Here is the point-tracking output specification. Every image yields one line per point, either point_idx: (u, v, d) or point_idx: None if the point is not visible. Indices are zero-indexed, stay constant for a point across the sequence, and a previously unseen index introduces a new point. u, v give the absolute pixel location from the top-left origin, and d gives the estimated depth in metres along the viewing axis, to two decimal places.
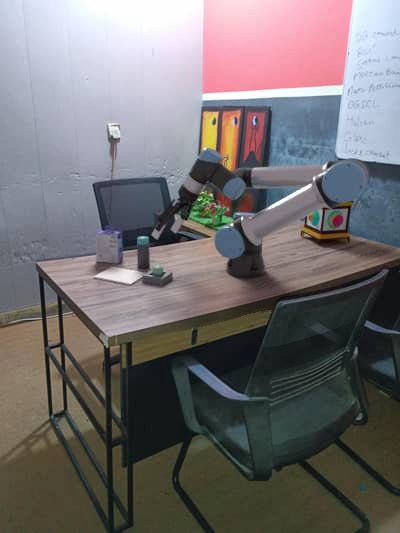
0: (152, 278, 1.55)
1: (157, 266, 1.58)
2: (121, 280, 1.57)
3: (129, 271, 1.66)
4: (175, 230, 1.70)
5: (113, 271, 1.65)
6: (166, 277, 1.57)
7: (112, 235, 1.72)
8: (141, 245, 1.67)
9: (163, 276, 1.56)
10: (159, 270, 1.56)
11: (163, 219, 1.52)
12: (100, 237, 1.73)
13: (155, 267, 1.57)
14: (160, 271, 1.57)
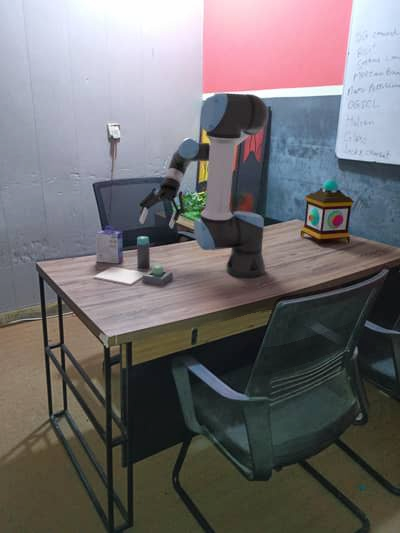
0: (152, 278, 1.55)
1: (157, 266, 1.58)
2: (121, 280, 1.57)
3: (129, 271, 1.66)
4: None
5: (113, 271, 1.65)
6: (166, 277, 1.57)
7: (112, 235, 1.72)
8: (141, 245, 1.67)
9: (163, 276, 1.56)
10: (159, 270, 1.56)
11: None
12: (100, 237, 1.73)
13: (155, 267, 1.57)
14: (160, 271, 1.57)
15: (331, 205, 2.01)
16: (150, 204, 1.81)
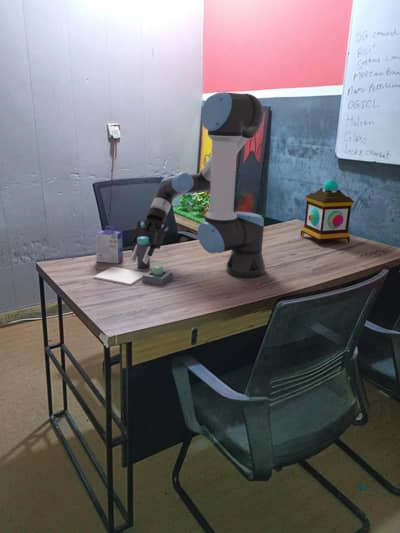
0: (152, 278, 1.55)
1: (157, 266, 1.58)
2: (121, 280, 1.57)
3: (129, 271, 1.66)
4: None
5: (113, 271, 1.65)
6: (166, 277, 1.57)
7: (112, 235, 1.72)
8: (141, 245, 1.67)
9: (163, 276, 1.56)
10: (159, 270, 1.56)
11: None
12: (100, 237, 1.73)
13: (155, 267, 1.57)
14: (160, 271, 1.57)
15: (331, 205, 2.01)
16: None
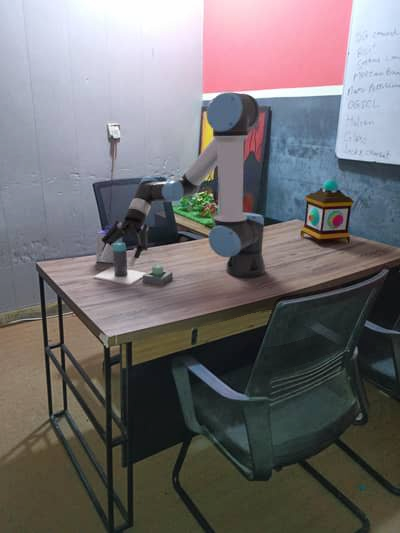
0: (152, 278, 1.55)
1: (157, 266, 1.58)
2: (121, 280, 1.57)
3: (129, 271, 1.66)
4: None
5: (113, 271, 1.65)
6: (166, 277, 1.57)
7: None
8: (117, 252, 1.57)
9: (163, 276, 1.56)
10: (159, 270, 1.56)
11: None
12: (100, 237, 1.73)
13: (155, 267, 1.57)
14: (160, 271, 1.57)
15: (331, 205, 2.01)
16: (113, 239, 1.63)
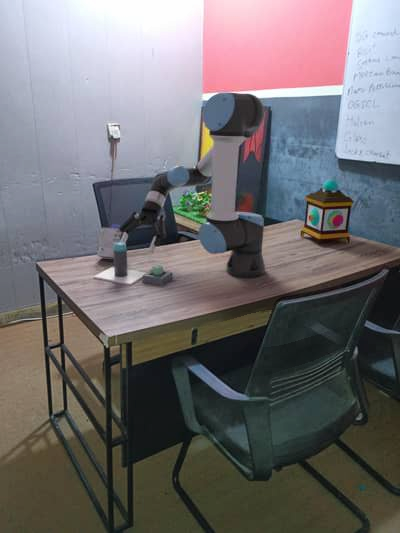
0: (152, 278, 1.55)
1: (157, 266, 1.58)
2: (121, 280, 1.57)
3: (129, 271, 1.66)
4: None
5: (113, 271, 1.65)
6: (166, 277, 1.57)
7: (118, 229, 1.77)
8: (118, 252, 1.57)
9: (163, 276, 1.56)
10: (159, 270, 1.56)
11: None
12: (105, 231, 1.78)
13: (155, 267, 1.57)
14: (160, 271, 1.57)
15: (331, 205, 2.00)
16: (130, 228, 1.73)
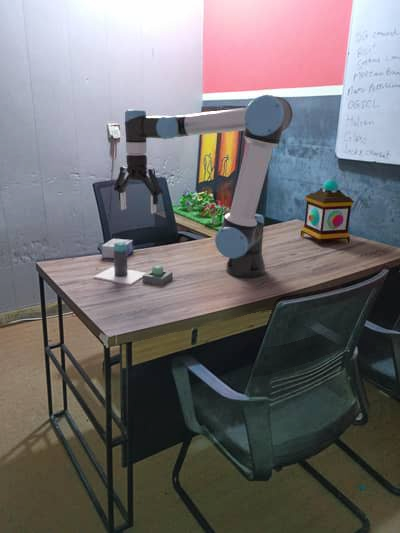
0: (152, 278, 1.55)
1: (157, 266, 1.58)
2: (121, 280, 1.57)
3: (129, 271, 1.66)
4: None
5: (113, 271, 1.65)
6: (166, 277, 1.57)
7: (128, 240, 1.89)
8: (118, 252, 1.57)
9: (163, 276, 1.56)
10: (159, 270, 1.56)
11: None
12: (115, 239, 1.89)
13: (155, 267, 1.57)
14: (160, 271, 1.57)
15: (331, 205, 2.00)
16: (124, 187, 1.66)
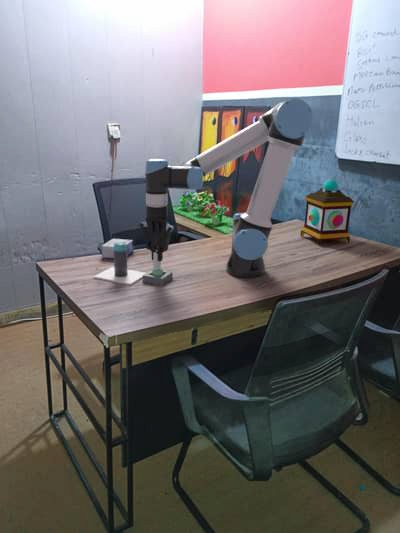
0: (152, 278, 1.55)
1: None
2: (121, 280, 1.57)
3: (129, 271, 1.66)
4: None
5: (113, 271, 1.65)
6: (166, 277, 1.57)
7: (128, 240, 1.89)
8: (118, 252, 1.57)
9: (163, 276, 1.56)
10: (159, 272, 1.57)
11: None
12: (115, 239, 1.89)
13: (155, 270, 1.57)
14: (160, 273, 1.57)
15: (331, 205, 2.00)
16: (154, 243, 1.55)
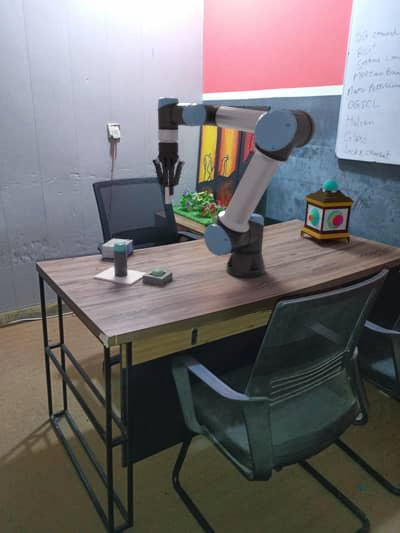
0: (152, 278, 1.55)
1: (157, 269, 1.59)
2: (121, 280, 1.57)
3: (129, 271, 1.66)
4: None
5: (113, 271, 1.65)
6: (166, 277, 1.57)
7: (128, 240, 1.89)
8: (117, 252, 1.57)
9: (163, 276, 1.56)
10: (159, 273, 1.57)
11: None
12: (115, 239, 1.89)
13: (155, 271, 1.57)
14: (160, 274, 1.57)
15: (331, 205, 2.01)
16: (166, 178, 1.67)
